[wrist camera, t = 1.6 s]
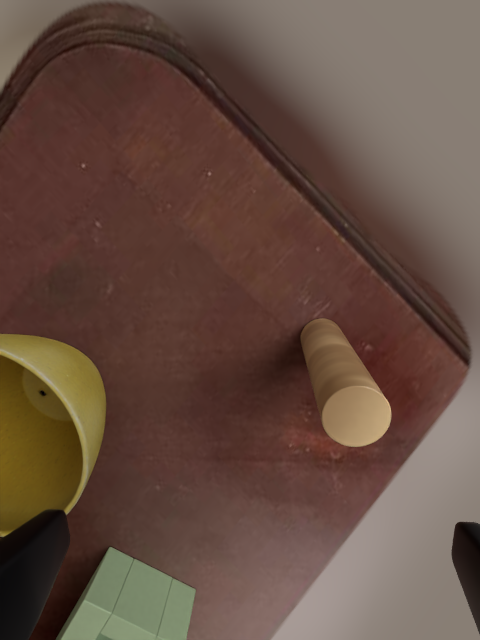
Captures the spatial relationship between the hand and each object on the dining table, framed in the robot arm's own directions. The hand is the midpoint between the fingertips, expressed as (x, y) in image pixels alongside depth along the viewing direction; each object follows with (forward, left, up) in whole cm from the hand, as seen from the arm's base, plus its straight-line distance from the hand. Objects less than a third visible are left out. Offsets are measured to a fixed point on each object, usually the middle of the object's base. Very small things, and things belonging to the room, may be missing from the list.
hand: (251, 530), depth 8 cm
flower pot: (+10, +9, -14) cm, 19 cm away
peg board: (-2, +28, -14) cm, 31 cm away
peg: (-3, -2, -14) cm, 14 cm away
